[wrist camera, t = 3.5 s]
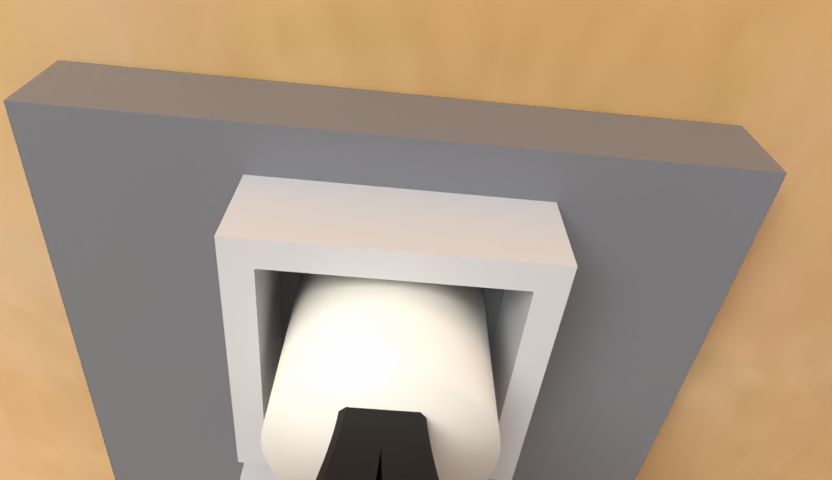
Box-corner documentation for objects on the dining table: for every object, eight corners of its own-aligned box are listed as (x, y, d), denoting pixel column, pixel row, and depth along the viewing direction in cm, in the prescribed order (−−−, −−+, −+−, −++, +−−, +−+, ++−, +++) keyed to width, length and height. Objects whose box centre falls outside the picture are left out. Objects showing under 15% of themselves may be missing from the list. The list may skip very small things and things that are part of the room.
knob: (499, 242, 12) (521, 377, 10) (469, 381, 15) (480, 524, 12) (294, 224, 12) (255, 356, 9) (296, 368, 15) (265, 510, 12)
